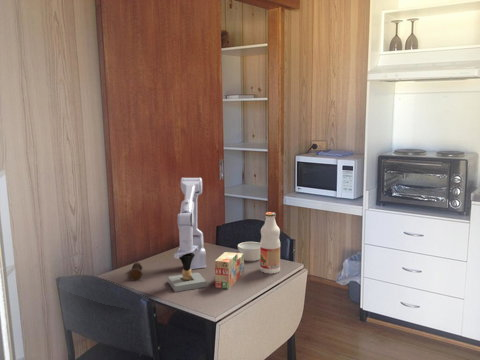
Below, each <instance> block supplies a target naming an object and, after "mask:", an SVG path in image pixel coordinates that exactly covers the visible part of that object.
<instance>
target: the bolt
mask: <svg viewBox="0 0 480 360" xmlns="http://www.w3.org/2000/svg"><path fill="white" fill-rule="evenodd" d="M142 270H143V265H142V264H141V263H140V262H134V263H133V265H132V267H131V270H130V273H129V277H130V279H131V280H132V281H139V280H141V277H142V276H143V272H142Z"/></svg>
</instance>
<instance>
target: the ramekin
mask: <svg viewBox="0 0 480 360" xmlns="http://www.w3.org/2000/svg"><path fill="white" fill-rule="evenodd" d="M237 249H238V250H237V251H238V253H242V254H244V260H245V261H246V262H256V260H257V261H260V242H257V241H245V242H241V243H238V244H237ZM245 261H244V262H245Z"/></svg>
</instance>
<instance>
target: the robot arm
mask: <svg viewBox="0 0 480 360" xmlns="http://www.w3.org/2000/svg"><path fill="white" fill-rule="evenodd" d="M180 189H181V192H182V194H183V195H184V200H182V201H181V204H180V211H179V213H178V214H177V226H178V227H177V228H178V230H179V231H178V232H179V248H178V249H177V251H176V252H175V253H173V257H174V259H177V260H179V259H180V262H181V263H182V266H183V267H182V268H183V269H184V270H186V271H188V270H190V269H191V270H195V269H201V268H202V269H203V268H207V253H206V249H205V247H204V233H203V232H202V230H200V229H199V228H198V198H199V196H200V195H202V194H203V178H202V177H181V178H180Z"/></svg>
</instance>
